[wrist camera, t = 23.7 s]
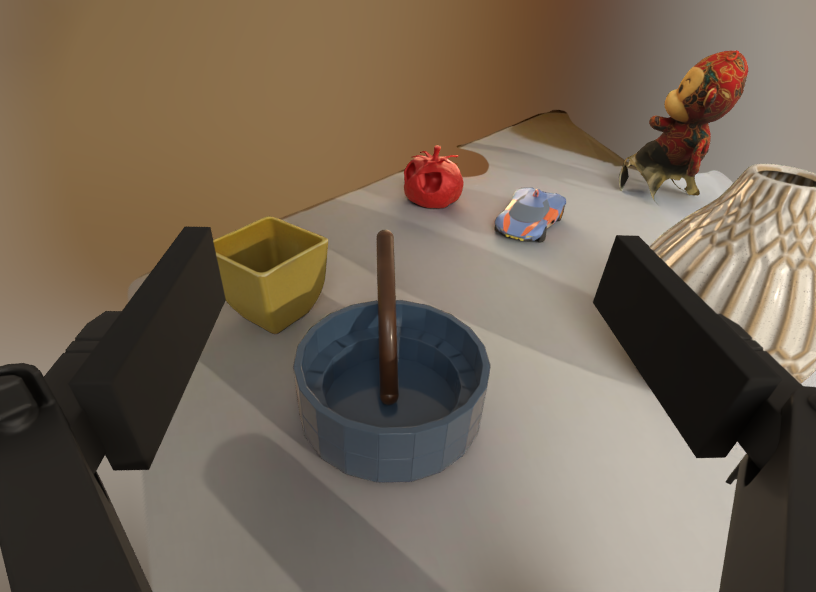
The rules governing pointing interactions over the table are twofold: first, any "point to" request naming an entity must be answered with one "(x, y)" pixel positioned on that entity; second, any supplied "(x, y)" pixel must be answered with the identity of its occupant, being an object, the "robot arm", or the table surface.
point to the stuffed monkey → (690, 121)
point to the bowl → (417, 382)
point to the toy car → (530, 214)
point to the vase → (756, 260)
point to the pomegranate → (432, 180)
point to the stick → (387, 318)
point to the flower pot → (272, 271)
